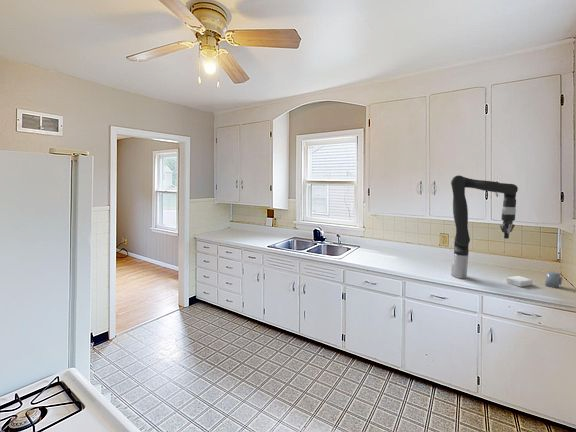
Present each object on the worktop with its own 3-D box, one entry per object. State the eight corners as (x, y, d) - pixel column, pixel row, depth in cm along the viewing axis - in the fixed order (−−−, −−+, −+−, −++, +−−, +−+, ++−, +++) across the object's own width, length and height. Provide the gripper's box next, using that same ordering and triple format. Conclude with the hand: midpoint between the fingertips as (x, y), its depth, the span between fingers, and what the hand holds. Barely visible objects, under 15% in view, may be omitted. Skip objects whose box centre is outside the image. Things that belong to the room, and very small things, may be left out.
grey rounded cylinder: (545, 286, 203) (547, 273, 202) (544, 283, 209) (545, 271, 208) (561, 289, 198) (563, 276, 197) (559, 285, 204) (561, 273, 203)
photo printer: (506, 276, 211) (519, 275, 214) (505, 282, 211) (519, 280, 214) (521, 281, 201) (534, 279, 204) (520, 287, 201) (534, 285, 205)
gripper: (508, 212, 210) (506, 236, 212) (496, 213, 204) (494, 238, 207) (520, 213, 203) (518, 238, 205) (508, 214, 197) (506, 240, 200)
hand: (506, 238), depth 206 cm, fingers closed
